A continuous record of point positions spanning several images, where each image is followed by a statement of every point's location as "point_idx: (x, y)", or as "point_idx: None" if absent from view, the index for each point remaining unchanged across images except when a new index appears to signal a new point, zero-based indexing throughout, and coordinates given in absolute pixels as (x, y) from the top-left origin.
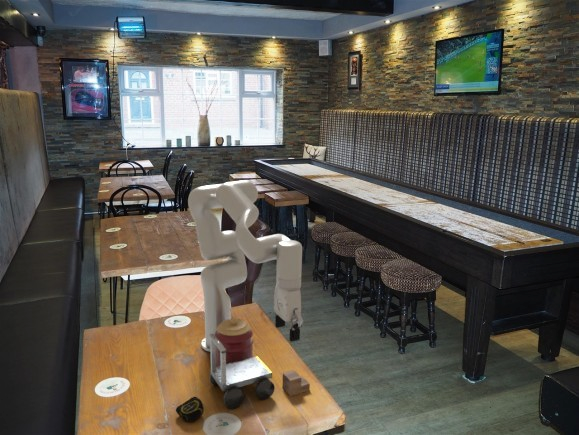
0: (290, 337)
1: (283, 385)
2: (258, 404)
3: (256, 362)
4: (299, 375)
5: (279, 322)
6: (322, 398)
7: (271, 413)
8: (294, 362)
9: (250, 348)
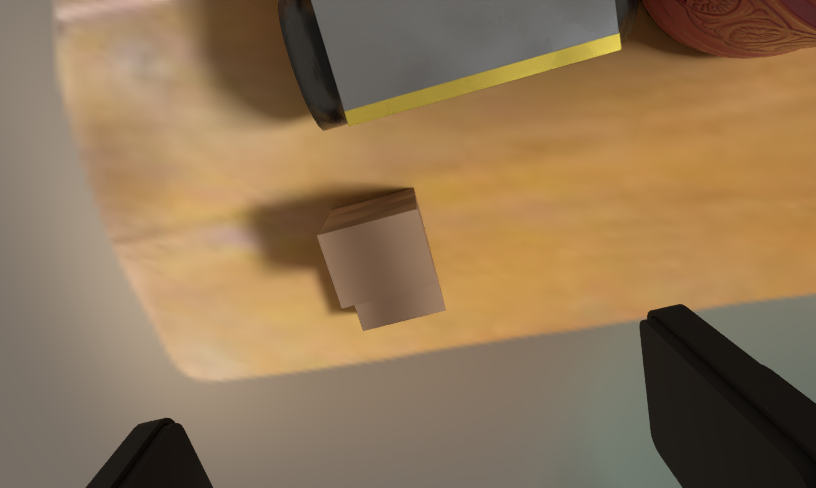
0: (99, 475)
1: (403, 194)
2: None
3: (527, 23)
4: (364, 302)
5: (693, 418)
6: (289, 352)
7: (191, 81)
8: (635, 300)
9: (769, 7)
